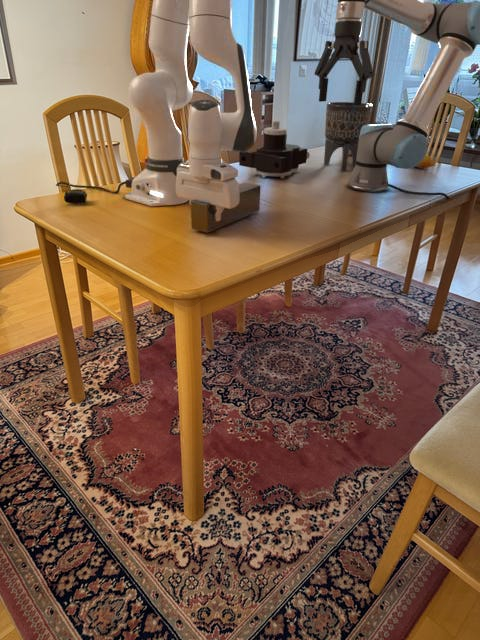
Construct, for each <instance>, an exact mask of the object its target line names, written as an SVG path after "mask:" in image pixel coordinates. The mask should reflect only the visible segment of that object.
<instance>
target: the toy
mask: <svg viewBox="0 0 480 640" xmlns="http://www.w3.org/2000/svg"><path fill="white" fill-rule="evenodd" d="M436 164H437V163H436V160H434V159H432V158H431V157H430V156H429V155H428V154H426V155H425V157H424V158H423V160H422V161H421V162H420V163H419V164H418V165H416V166H415V167H418V168H420V169H428V168H432V167H434V166H435V165H436Z"/></svg>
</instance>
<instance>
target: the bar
mask: <svg viewBox="0 0 480 640" xmlns="http://www.w3.org/2000/svg"><path fill="white" fill-rule="evenodd" d="M260 209H261V185H260V184H253V183H249V182H243V183H240V184H239V204H238V205H237V206H236V207H234V208H232V209H228V208H224V210H223V211H222V213H221V220H220V221H214V220H213V214H216V212H217V209H216V206H215V205H211V204H210V203H206V202H202V201H197V200H193V201H191V206H190V222H191V223H190V224H191V230H196V231H198V232H203V233H206V234H208V233H211V232H213V231H215V230H218V229H220V228H222V227H224V226H227V225H230V224H232V223H234V222H236V221H238V220H241V219H243V218H245V217H247V216H251V215H252V214H255V213H257V212H259V211H260Z"/></svg>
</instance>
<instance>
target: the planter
mask: <svg viewBox="0 0 480 640" xmlns="http://www.w3.org/2000/svg"><path fill="white" fill-rule="evenodd" d="M373 107H374V106H373V104H372V103H367V102H362V103H361V105H354V101H333V102H327V103H326V109H325V124H324V125H325V126H324V139H325V144H324V156H323V157H324V158H323V165H325V166H328V165H330V163H331V158H332V156H333V154H334V153H335V151H336V150H337V149H340V148H341V150H342V153H341V166H340V170H341V172H345V171H347V167H348V166H347V165H348V159H349V155H348V152H349V150H350V151H351V153H352V155H351V157H352V158H351V159H352V160H351V161H352V166H353V167H355V165H356V158H357V150H358V142H359V135H360V131H361V128H362V127H363V126H364V125H370V121H371V116H372V112H373Z"/></svg>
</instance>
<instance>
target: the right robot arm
mask: <svg viewBox="0 0 480 640" xmlns="http://www.w3.org/2000/svg"><path fill="white" fill-rule="evenodd" d="M365 10H368V11H370V12H372V13H375V14H376V15H379V16H381V17H384V18H385V19H388V20H391V21H392V22H395V23H398V24H400V25H402V26H404V27H406V28H409V30H410V33H412V34H413V35H416V36H418V37H420V38H421V39H425V40H426V41H429V42H431V43H435V44H437V45H439V50H438V51H437V54H436V56H435V58H434V60H433V61H432V64H431V65H430V67H429V69H428V71H427V73H426V75H425V77H424V78H423V81H422V83H421V84H420V86H419V88H418V90H417V92H416V94H415V96H414V98H413V100H412V102H411V104H410V106H409V107H408V109H407V111H406V113H405V115H404V116H403V118H401V119H399V120H397V121H396V123H395V125H394V124H393V123H383V124H382V123H381V124H369V125H364V126H363V127H362V128H361V131H360V135H359V142H358V150H357V158H356V165H355V166H354V167H353V171H351V174H350V176H349V179H348V182H347V187H348V188H349V189H351V190H354V191H358V192H363V193H364V192H365V193H382V192H386V191H388V189H389V188H392V189H393V190H396V191H399V192H401V193H405V194H410V195H416V196H417V195H418V196H443V197H444V198H445V199H446V200H450V196H449V195H448V194H447V193H445V192H440V191H439V192H427V191H424V192H423V191H411V190H407V189H403V188H400V187H398V186H396V185H393V184H390V183H389V178H388V173H387V172H388V171H387V166H391V167H394V168H397V169H404V170H409V169H412V168H414V167H417V166H416V165H418V164H419V163H420V162H421V161H422V160H423V158H424V157H425V155H427V152H428V149H429V148H428V146H429V141H428V136H429V132H428V127H429V125H430V124H431V121H432V119H433V118H434V116H435V113H436V112H437V110H438V109H439V106H440V105H441V103H442V102H443V101H442V100H443V99H444V97H445V96H446V93H447V92H448V90H449V88H450V86H451V84H452V82H453V81H454V78H455V76H456V75H457V73H458V71H459V69H460V67H461V66H462V64H463V61H464V60H465V59H466V58H469V57H471V56H472V55H473V53H474V51H475V50H476V48H477V46H479V45H480V0H473V1H466V2H457V3H456V2H455V3H445V4H440V3H439V4H438V3H433V2H431V1H424V2H422V1H420V0H337V7H336V16H335V19H336V20H337V21H336V22H335V23H334V34H333V35H334V38H335V39H334V41H333V40H326V41H325V45H324V49H323V52H322V53H321V57H320V59H319V61H318V63H317V65H316V68H315V70H314V76H317V77H318V90H319V95H318V102H320V103H321V102H327V97H328V89H329V86H328V85H329V78H328V75H329V74H330V72H332V69H333V68H334V67H335V65H336V64H337V62H338V61H340V60H341V59H349V60H350V61H351V64H352V66H353V68H354V71H355V73H356V74H357V77H358V80H357V79H356V83H355V84H356V85H355V93H354V99H353V100H354V101H353V102H354V105H361V103H363V94H364V93H366V88H367V81H369V79H373V78H374V74H375V73H374V71H373V66H372V62H371V61H372V60H371V57H370V52H369V41H368V40H363V39H362V40H360V37H361V35H362V27H363V23H362V20H364V19H363V18H364V13H365ZM358 50H359V52H358Z"/></svg>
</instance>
